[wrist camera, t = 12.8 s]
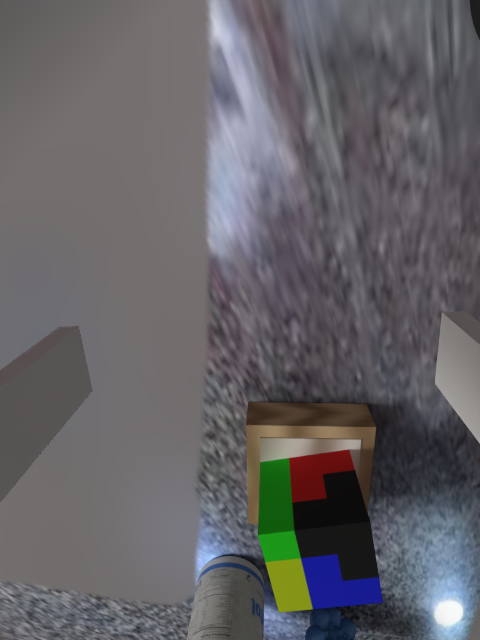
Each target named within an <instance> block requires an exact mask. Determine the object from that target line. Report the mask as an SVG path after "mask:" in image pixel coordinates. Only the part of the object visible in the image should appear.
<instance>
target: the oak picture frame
mask: <svg viewBox="0 0 480 640" xmlns="http://www.w3.org/2000/svg"><path fill="white" fill-rule="evenodd" d="M375 434H376V426H375V423H374V421H373V419H372V416H371V414H370V411H369V409H368V407H367V404H347V403H266V402H248V411H247V422H246V437H247V479H248V522H249V524H258V514H259V480H260V462H264V461H271V460H278V459H285V458H292V457H299V456H306V455H313V454H320V453H327V452H334V451H341V450H348V449H349V450H350V454H351V457H352V461H353V464H354V468H355V471H356V474H357V478H358V481H359V485H360V488H361V492H362V495H363V499H364V502H365V506H366V509H367V513H368V504H369V494H370V484H371V474H372V464H373V454H374V444H375Z"/></svg>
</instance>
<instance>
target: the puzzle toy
mask: <svg viewBox="0 0 480 640" xmlns="http://www.w3.org/2000/svg"><path fill="white" fill-rule="evenodd" d="M258 537H259V541H260V545H261V548H262V552H263V556H264V559H265V563H266V567H267V570H268V574H269V578H270V581H271V585H272V589H273V592H274V596H275V600H276V603H277V607H278V611H279V612H288V611H299V610H310V609H321V608H331V607H342V606H353V605H364V604H374V603H383V600H382V593H381V587H380V581H379V574H378V568H377V562H376V556H375V549H374V543H373V537H372V530H371V524H370V519H369V516H368V513H367V509H366V506H365V502H364V499H363V495H362V492H361V488H360V485H359V481H358V478H357V474H356V471H355V468H354V464H353V461H352V457H351V454H350V450H349V449H348V450H341V451H334V452H327V453H320V454H313V455H306V456H299V457H292V458H285V459H278V460H271V461H264V462H260V480H259V514H258Z"/></svg>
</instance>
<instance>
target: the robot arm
mask: <svg viewBox="0 0 480 640" xmlns="http://www.w3.org/2000/svg"><path fill="white" fill-rule="evenodd" d="M470 8H471V15H472V19H473V23H474V27H475V30H476V32H477V35H478V37H479V39H480V0H470ZM435 384H436V385H437V387H438V388H439V389H440V391H441V392H442V393H443V395H444V396H445V398H446V399H447V400H448V402H449V403H450V404H451V406H452V407H453V408H454V410H455V411H456V412H457V414H458V415H459V416H460V418H461V419H462V420H463V422H464V423H465V424H466V426H467V427H468V428H469V430H470V431H471V432H472V434H473V435H474V436H475V438H476V439H477V440H478V442H479V443H480V322H479V321H477V320H476V319H475V318H473V317H472V316H471V315H469V314H468V313H467V312H442V318H441V328H440V337H439V347H438V357H437V367H436V377H435ZM91 392H92V386H91V381H90V377H89V372H88V367H87V363H86V358H85V354H84V349H83V344H82V339H81V334H80V330H79V326H70V327H58V328H57V329H56V330H54V331H53V332H52V333H50V334H49V335H48V336H46V337H45V338H44V339H42V340H41V341H39V342H38V343H37V344H35V345H34V346H32V347H31V348H30V349H28V350H27V351H26V352H24V353H23V354H22V355H20V356H19V357H17V358H16V359H15V360H13V361H12V362H11V363H9V364H8V365H6V366H5V367H4V368H2V369H1V370H0V502H1V501H2V500H3V499H4V497H5V496H6V495H7V494H8V493H9V491H10V490H11V489H12V488H13V487H14V485H15V484H16V483H17V482H18V480H19V479H20V478H21V477H22V476H23V474H24V473H25V472H26V471H27V470H28V468H29V467H30V466H31V465H32V463H33V462H34V461H35V460H36V459H37V457H38V456H39V455H40V454H41V452H42V451H43V450H44V449H45V448H46V447H47V445H48V444H49V443H50V442H51V440H52V439H53V438H54V437H55V435H56V434H57V433H58V432H59V430H61V428H62V427H63V426H64V425H65V423H66V422H67V421H68V420H69V419H70V417H71V416H72V415H73V414H74V412H75V411H76V410H77V409H78V408H79V406H80V405H81V404H82V403H83V402H84V400H85V399H86V398H87V397H88V395H89V394H90V393H91Z"/></svg>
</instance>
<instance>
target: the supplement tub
mask: <svg viewBox="0 0 480 640" xmlns="http://www.w3.org/2000/svg"><path fill="white" fill-rule="evenodd" d="M263 630H264V580H263V577H262V574H261V573H260V571H259V570H258V569H257V568H256V567H255V566H254V565H253V564H252V563H251V562H249V561H247V560H245V559H243V558H240V557H235V556H222V557H218V558H215V559H213V560H211V561H209V562H208V563H207V564H206V565H205V566H204V567H203V568H202V570H201V572H200V574H199V578H198V583H197V588H196V593H195V599H194V604H193V609H192V615H191V620H190V625H189V631H188V636H187V640H263Z"/></svg>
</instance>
